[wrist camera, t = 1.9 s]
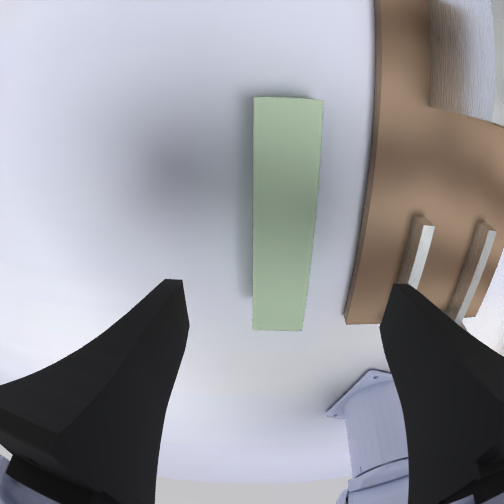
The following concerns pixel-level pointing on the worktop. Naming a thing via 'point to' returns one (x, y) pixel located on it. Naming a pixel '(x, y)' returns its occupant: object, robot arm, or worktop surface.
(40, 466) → the robot arm
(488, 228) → the end caps
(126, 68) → the worktop surface
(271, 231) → the green long rectangular block
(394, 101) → the board
